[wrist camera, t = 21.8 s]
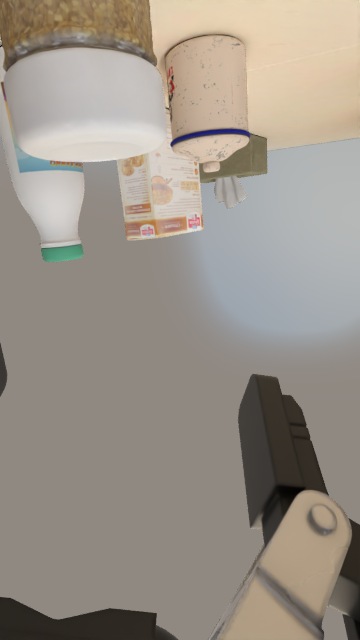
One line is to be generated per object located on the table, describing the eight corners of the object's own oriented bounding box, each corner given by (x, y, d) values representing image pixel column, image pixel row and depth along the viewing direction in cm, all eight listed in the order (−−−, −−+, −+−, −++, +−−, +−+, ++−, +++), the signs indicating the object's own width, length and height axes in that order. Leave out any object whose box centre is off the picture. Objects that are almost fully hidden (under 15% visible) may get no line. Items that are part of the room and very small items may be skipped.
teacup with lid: (148, 48, 34) (160, 173, 37) (238, 21, 31) (243, 161, 34) (187, 84, 45) (194, 179, 48) (257, 67, 41) (259, 171, 45)
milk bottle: (43, 81, 39) (74, 254, 45) (-29, 64, 34) (17, 264, 40) (80, 56, 34) (110, 255, 40) (2, 32, 29) (50, 265, 35)
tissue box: (203, 152, 95) (207, 211, 100) (183, 148, 87) (188, 212, 92) (268, 138, 84) (269, 205, 89) (251, 133, 77) (253, 206, 81)
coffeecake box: (107, 111, 52) (125, 240, 58) (143, 99, 48) (158, 238, 54) (165, 126, 64) (175, 232, 70) (197, 117, 60) (205, 230, 66)
